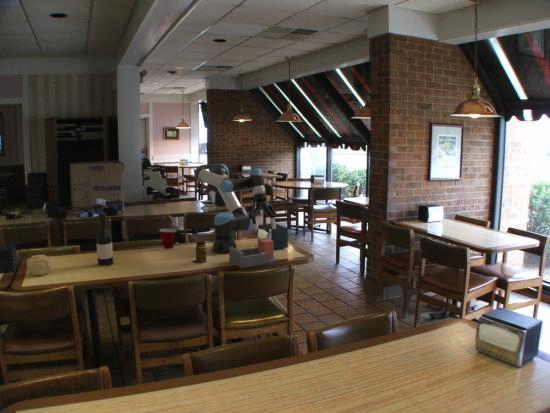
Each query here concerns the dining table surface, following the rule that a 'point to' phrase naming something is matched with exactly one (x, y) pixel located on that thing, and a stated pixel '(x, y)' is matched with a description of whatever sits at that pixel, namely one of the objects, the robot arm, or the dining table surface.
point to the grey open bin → (249, 257)
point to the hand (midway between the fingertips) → (265, 229)
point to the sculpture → (38, 265)
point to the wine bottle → (104, 243)
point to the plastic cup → (168, 237)
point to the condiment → (200, 253)
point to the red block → (266, 246)
